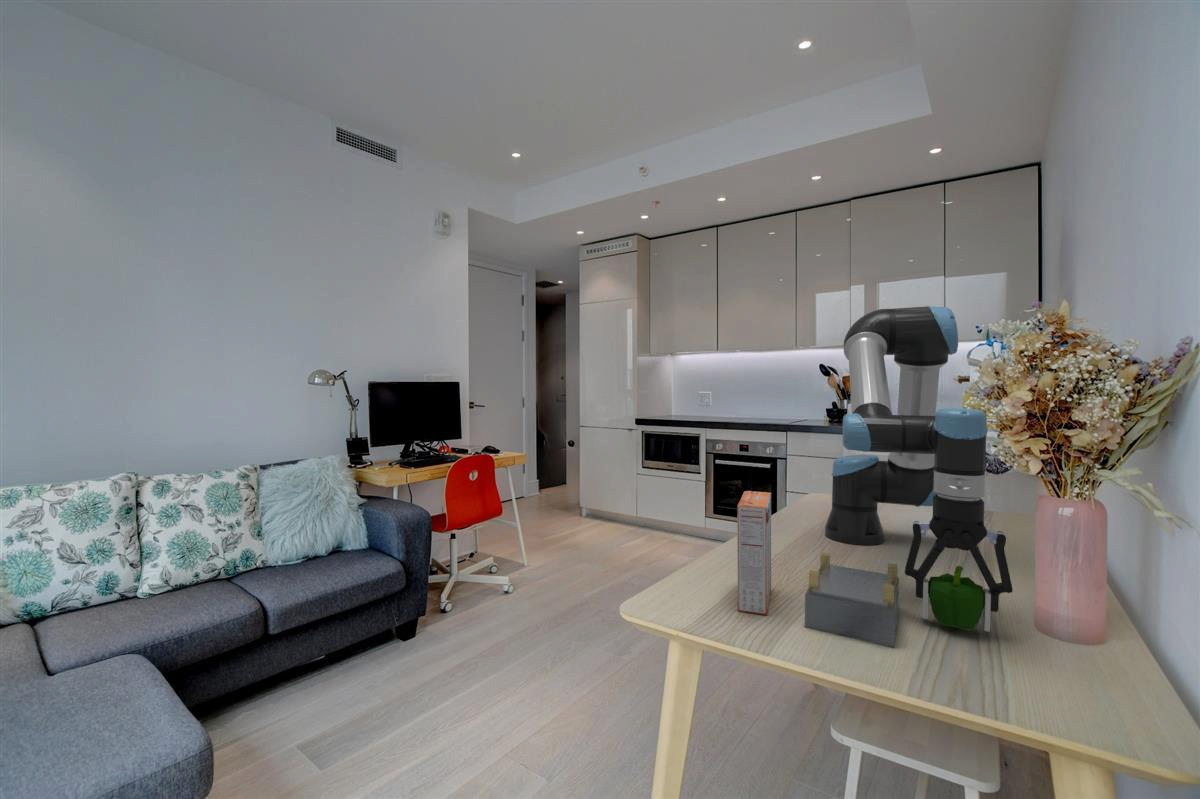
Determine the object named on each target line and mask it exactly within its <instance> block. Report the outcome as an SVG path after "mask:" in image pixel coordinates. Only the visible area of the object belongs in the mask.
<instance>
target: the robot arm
mask: <svg viewBox="0 0 1200 799" xmlns="http://www.w3.org/2000/svg"><path fill="white" fill-rule="evenodd" d="M958 331H959V330H958V325H957V320H956V316H955V314H954V312H953V310H952V309H950V308H949V307H947V306H930V305H929V306H928V305H927V306H916V307H915V306H914V307H913V306H912V307H911V306H910V307H897V308H881V309H876V310H873V311H871V312H870V311H869V313H866V314H865V315H863V316H861V317H860V318H859V319H858V320H856V321H855V322H854V323H853V324H852V325H851V327H850V328H849V329H848V330H847V333H846V334H845V336H844V340H843V354H844V356H845V358H846V360H848V370H849V387H850V388H849V389H850V404H851V413H846V414H844V416H843V418H842V446H843V448H844V449H846V450H848V451H858V452H859V451H860V452H865V453H867V452H868V453H869V452H870V453H871V452H873V453H889V454H888V456H887V460H880V459H879V456H878V455H875V454H852V455H844V456H840V457H837V458H836V459H834V460H833V463H832V473H831V476H832V486H831V487H832V488H831V489H832V491H831V492H832V493H831V509H830V512H829V515H828V517H827V520H826V523H825V526H824V535H825V536H826V537H827V538H829V539H831V540H834V541H836V542H841V543H843V544H845V543H846V544H850V545H857V546H858V545H860V546H861V545H862V546H874V545H880V544H882V543H884V542H885V531H884V529H883V525H882V523H881V519H880V517H879V514H878V504H880V503H881V504H889V505H890V504H891V505H903V506H905V505H906V506H914V507H932V517H931V520H930V521H929V522H920V521H918V520H915V521H913V523H912V534H913V536H912V540H911V545H910V548H909V552H908V556H907V559H906V562H905V567H904V575H905V576H906V577H911V578H913V579H914V580H915V597H916V598H919V599H922V619H924V620H925V619H927V620H928V611H929V610H928V607H929V605H928V604H929V601H928V600H929V594H928V581H929V578H926V577H927V575H928V574H929V573H930V571H931V569H932V568H933V567H934V564H935V563H936V561H937V560H938V558H939V556H940V555H941V554H942V553H943V551H944V549H945V548H946V549H958V550H961V551H965V552H968V551H969V552H970V553H971V556H972V557H973V559H974V561H975V564H976V565H977V567H978V570H979V571H980V573H981V574H982V577H983V578H984V579H983V580H984V581H985V582H986V585H987V587H988V588H987V587H986V588H985V587H983V590H984V592H985V605H984V608H983V611H982V626H983V630H984V631H983V632H991V612H994V613H998V611H999V603H1000V601H999V600H1000V595H1001V594H1004V593H1006V594H1011V593H1013V584H1012V580H1011V576H1010V571H1009V566H1008V562H1007V558H1006V553H1005V552H1006V551H1005V547H1006V543H1007V537H1006V534H1005V533H1004V532H1003V531H1001V530H999V531H994V530H993V531H992V530H989V529H987V528H986V526H985V501H984V500H983V499H982V498H983V497H985V496H986V495H985V494H986V493H985V492H986V491H985V490H986V487H985V486H986V485H985V484H986V456H987V453H986V452H987V435H988V431H989V430H988V426H987V414H986V412H984V411H983V410H981V409H975V408H974V409H973V408H956V407H955V408H953V407H951V408H948V407H947V408H940V409H938V410H937V404H938V393H939V392H938V391H939V382H940V380H939V379H940V371H941V368H942V367H944V366H945V365H946V364H947V363H948V361H949V355H950V356H952V355H955V354H957V352H958V348H959V332H958ZM885 356H894V357H893V358H894V359H893V361H894V363H895V364H896V365H897V366H899V368H900V369H899V383H898V387H899V388H898V398H897V413H896V414H893V410H892V405H891V398H890V392H889V383H888V376H887V369H886V363H885ZM929 530H930V531H931V533H932V534H933V535H934V536H935V537H936V540H935V542H934V544H933V546H932V547H931V549H930V550H929V551H928V553H927V555H926V557H925V558H924V559H923V561H922V563H921V565H919V568H918V569H915V565H916V561H917V557H918V554H919V550H920V546H921V543H922V536H925V535H927V531H929ZM986 537H987V538H988V539H989V543H990V544H991V545H993V547H994V552H995V556H996V557H995V558H996V561H997V562H996V563H997V566H998V570H999V576H1000V581H1001V582H996V580H995V578H994V576H993V574H992V573H991V570H990V568H989V567H988V564H987V563H986V560H985V559H984V557H983V554H982V552H981V551H980V548H979V546H978V545H979V544H980V542H981V541H982V540H984V539H985V538H986Z"/></svg>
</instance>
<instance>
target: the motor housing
mask: <svg viewBox="0 0 1200 799" xmlns="http://www.w3.org/2000/svg"><path fill="white" fill-rule="evenodd" d="M819 555H820V556H819V557H820V558H819V562H820V563H819V569H818V571H816V570H812V569H810V570H809V572H808V589H807V590H806V592H805V594H804V627H805V628H807V629H812V630H818V631H821V632H825V633H830V634H834V635H839V636H843V637H847V638H850V639H855V640H860V641H865V642H867V643H873V644H876V645H880V646H886V647H888V648H889V647H890V648H894V646H895V638H896V632H897V631H896V630H897V623H898V622H897V621H898V614H899V609H900V608H899V606H900V605H899V603H900V600H899V598H900V596H899V595H900V577H898V576H899V575H898V570H899V568H898V566H899V565H898V564H896V563H890V562H889V563H887V573H882V572H875V571H870V570H869V571H868V570H864V569H858V568H852V567H847V566H841V565H835V564H831V553H827V552H820V554H819Z"/></svg>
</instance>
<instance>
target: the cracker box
mask: <svg viewBox="0 0 1200 799" xmlns="http://www.w3.org/2000/svg"><path fill="white" fill-rule="evenodd" d="M736 513H737V514H736V520H737V521H736V524H737V525H736V529H737V530H736V531H737V532H736V534H737V536H736V537H737V539H736V540H737V542H736V543H737V545H736V547H737V553H736V554H737V556H736V557H737V611H738V612H741V613H743V612H744V613H749V614H750V613H751V614H756V615H764V616H768V614H769V606H770V600H771V591H772V492H767V491H756V490H755V491H753V490H745V491H744V492H743V494H742V495H741V498H740V500H739V501H738V504H737V507H736Z"/></svg>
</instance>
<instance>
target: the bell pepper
mask: <svg viewBox="0 0 1200 799" xmlns="http://www.w3.org/2000/svg"><path fill="white" fill-rule="evenodd" d="M962 571H964V567H963V566H961V565H956V566H955V569H954V573H953V574H950V573H949V572H947V573H943V574H941V575H939V576H930V578H929V579H928V600H929V603H930V607H931V610H932V614H933V616H934V618H935V619H936V621H937V622H938V623H939V624H942V625H943V626H947V627H956V628H958V629H962V630H963V631H964V630H965V631H970V630H973V629H974V628H976V627H977V625H978V624H980V623H979V622H980V620H981V617H982V616H983V608H984V605H985V592H984V587H983V585H980V584H977V583H975V581H973V580H972V579H971V578H970V577H968V576H967V577H966V576H965V577H964V576H963V577H961V576H962Z"/></svg>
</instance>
